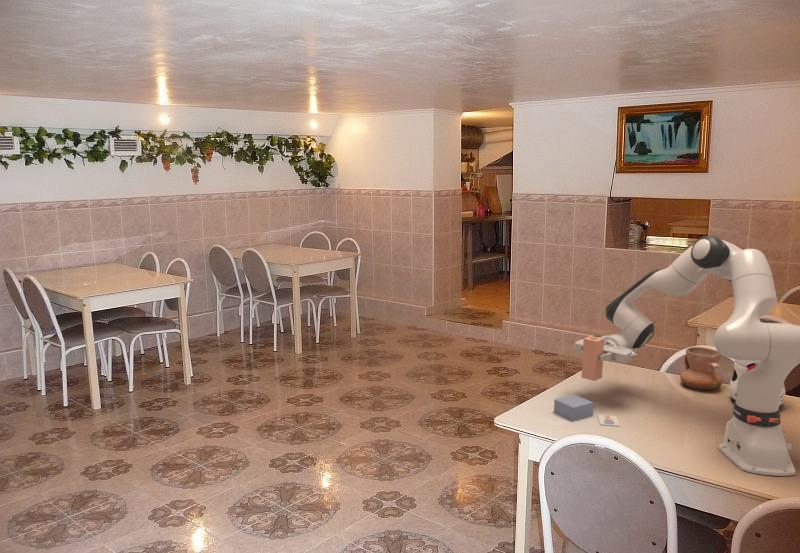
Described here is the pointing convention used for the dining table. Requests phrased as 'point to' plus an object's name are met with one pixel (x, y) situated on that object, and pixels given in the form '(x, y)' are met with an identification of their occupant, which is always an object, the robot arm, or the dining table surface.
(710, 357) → the ceramic jug
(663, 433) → the dining table surface
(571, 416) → the base brick
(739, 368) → the milk container
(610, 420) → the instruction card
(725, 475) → the dining table surface
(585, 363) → the coral brick
